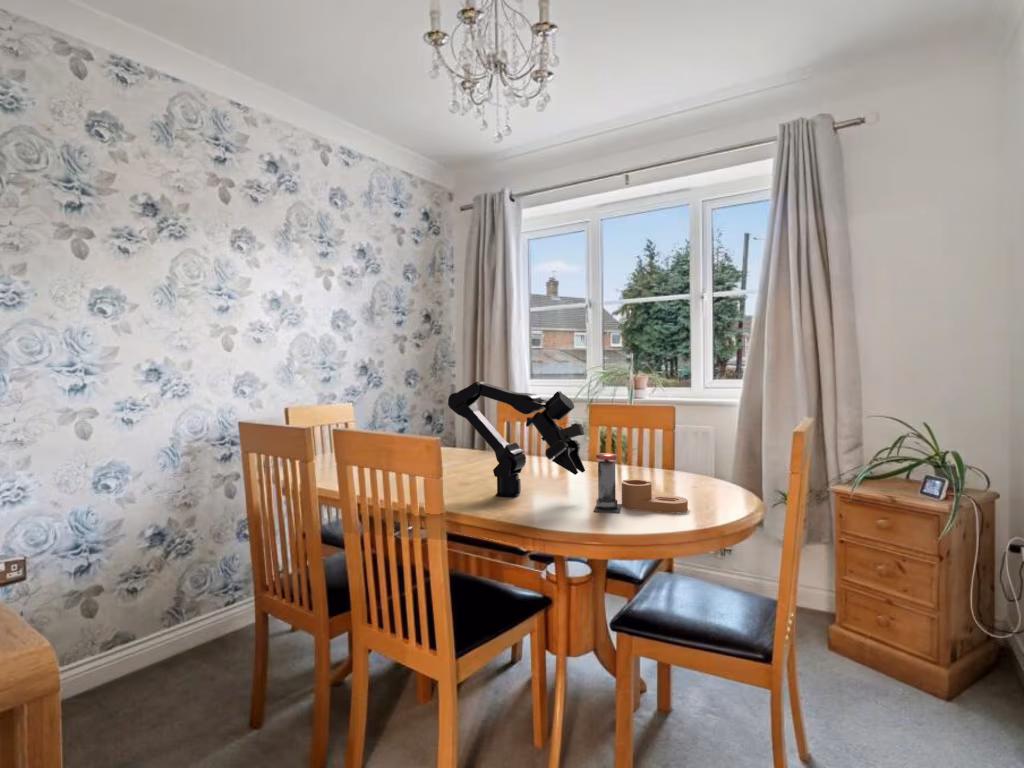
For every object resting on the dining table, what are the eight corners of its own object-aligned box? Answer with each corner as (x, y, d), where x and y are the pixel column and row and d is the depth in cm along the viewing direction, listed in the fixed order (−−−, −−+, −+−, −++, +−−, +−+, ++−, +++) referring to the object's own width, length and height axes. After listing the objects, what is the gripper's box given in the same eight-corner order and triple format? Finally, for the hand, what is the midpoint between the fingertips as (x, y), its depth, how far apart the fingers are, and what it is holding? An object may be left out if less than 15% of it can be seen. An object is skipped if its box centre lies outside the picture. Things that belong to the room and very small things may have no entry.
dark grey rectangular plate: (593, 511, 154) (593, 511, 154) (596, 503, 163) (596, 502, 163) (619, 513, 153) (619, 512, 153) (621, 504, 161) (621, 504, 161)
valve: (598, 510, 155) (598, 457, 154) (593, 505, 161) (593, 453, 160) (620, 509, 155) (620, 456, 154) (614, 504, 161) (614, 452, 160)
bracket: (619, 509, 158) (619, 484, 157) (624, 501, 165) (624, 478, 165) (686, 514, 151) (686, 489, 151) (688, 506, 159) (688, 482, 159)
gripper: (561, 412, 157) (595, 457, 153) (577, 413, 174) (608, 454, 170) (531, 436, 159) (564, 481, 155) (549, 435, 177) (579, 476, 173)
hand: (580, 472), depth 163 cm, fingers open, 9 cm apart
